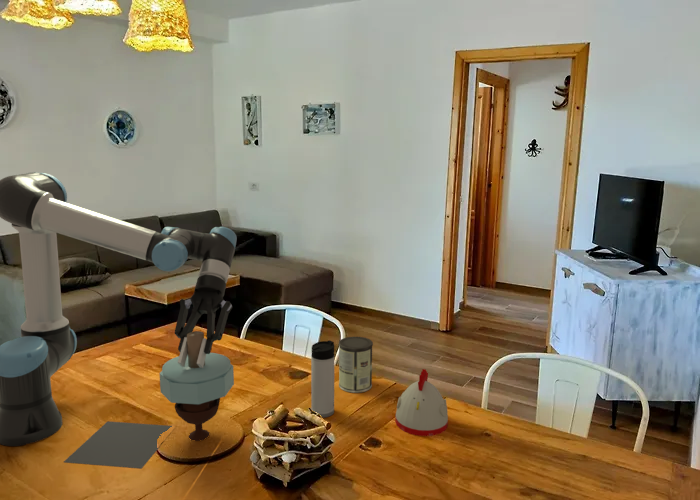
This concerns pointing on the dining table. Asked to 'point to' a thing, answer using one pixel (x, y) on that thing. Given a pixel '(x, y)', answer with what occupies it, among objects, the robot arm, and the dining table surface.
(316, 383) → the travel mug
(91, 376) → the dining table surface
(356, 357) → the coffee can
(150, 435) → the mat
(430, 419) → the kitchen timer
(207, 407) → the ice cream bowl
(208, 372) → the lid
